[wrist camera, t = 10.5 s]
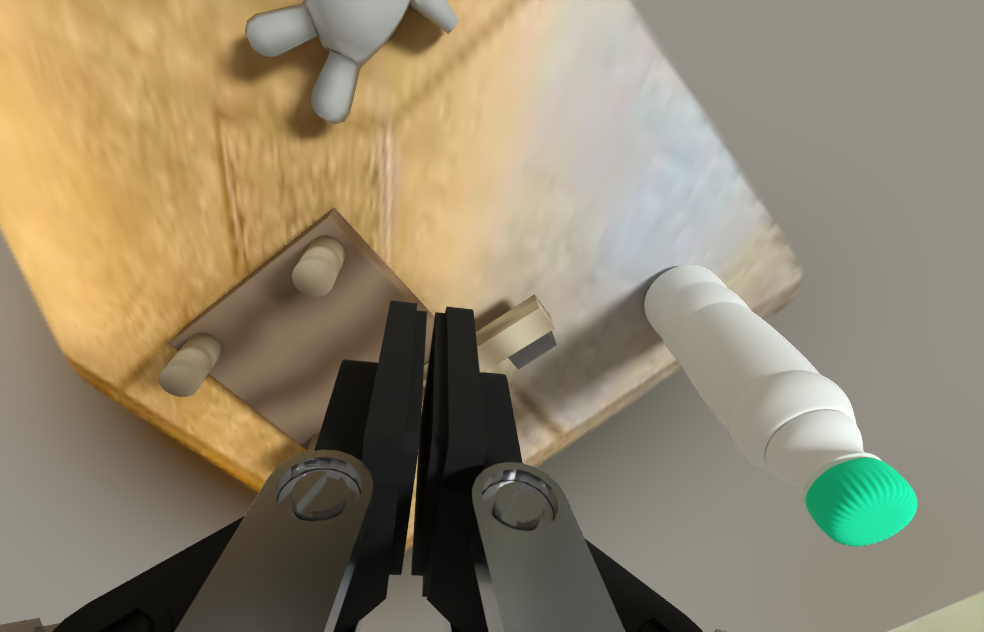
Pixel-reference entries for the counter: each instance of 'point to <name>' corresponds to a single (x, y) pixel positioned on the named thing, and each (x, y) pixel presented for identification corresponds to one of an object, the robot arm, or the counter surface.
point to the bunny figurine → (339, 39)
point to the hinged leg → (510, 333)
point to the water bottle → (778, 407)
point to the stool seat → (299, 328)
